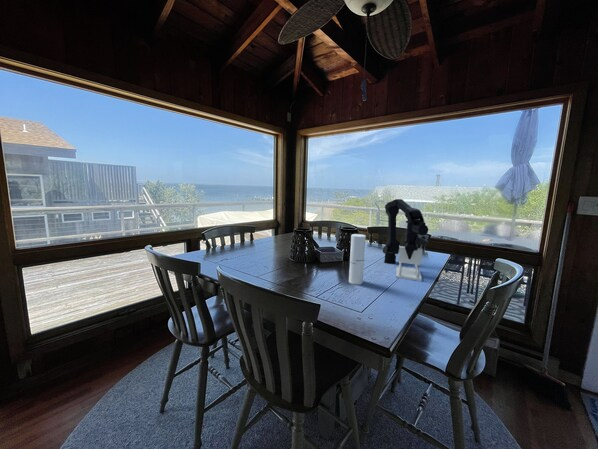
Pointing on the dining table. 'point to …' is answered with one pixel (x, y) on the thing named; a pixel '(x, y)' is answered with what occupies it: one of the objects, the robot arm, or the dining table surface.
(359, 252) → the cylindrical container
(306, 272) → the dining table surface
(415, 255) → the tile
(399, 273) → the rack
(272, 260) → the dining table surface
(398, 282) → the dining table surface
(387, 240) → the robot arm
